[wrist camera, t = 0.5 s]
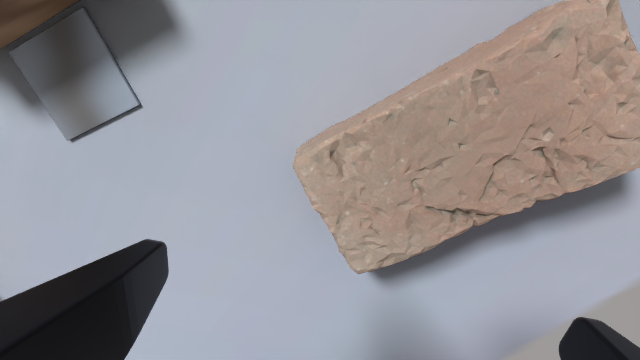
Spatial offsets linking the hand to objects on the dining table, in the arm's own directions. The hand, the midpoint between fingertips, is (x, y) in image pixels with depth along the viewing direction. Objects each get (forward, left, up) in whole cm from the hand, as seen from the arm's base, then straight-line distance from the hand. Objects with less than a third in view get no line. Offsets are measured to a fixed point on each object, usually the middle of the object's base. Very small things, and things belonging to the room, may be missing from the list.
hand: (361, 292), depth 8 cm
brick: (+2, -5, -15) cm, 16 cm away
